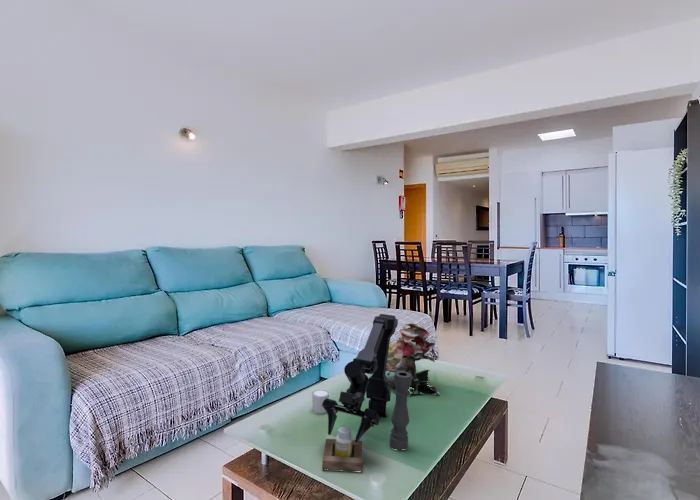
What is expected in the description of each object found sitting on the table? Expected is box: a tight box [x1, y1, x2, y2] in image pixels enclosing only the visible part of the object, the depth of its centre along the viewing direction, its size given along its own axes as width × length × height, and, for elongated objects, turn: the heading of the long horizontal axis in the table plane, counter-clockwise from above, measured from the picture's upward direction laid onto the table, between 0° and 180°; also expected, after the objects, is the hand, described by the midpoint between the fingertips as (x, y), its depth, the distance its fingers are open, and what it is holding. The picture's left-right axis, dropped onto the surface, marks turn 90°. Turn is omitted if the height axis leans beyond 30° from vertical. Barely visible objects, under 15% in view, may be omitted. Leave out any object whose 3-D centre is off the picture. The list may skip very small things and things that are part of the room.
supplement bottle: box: [334, 426, 353, 457], centre depth 121 cm, size 5×5×10 cm
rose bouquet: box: [386, 322, 438, 396], centre depth 181 cm, size 26×29×30 cm
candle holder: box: [389, 371, 411, 450], centre depth 130 cm, size 6×6×25 cm
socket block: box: [321, 438, 363, 472], centre depth 121 cm, size 12×12×3 cm
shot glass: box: [311, 389, 330, 414], centre depth 153 cm, size 7×7×7 cm
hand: (342, 438), depth 120 cm, fingers open, 9 cm apart
